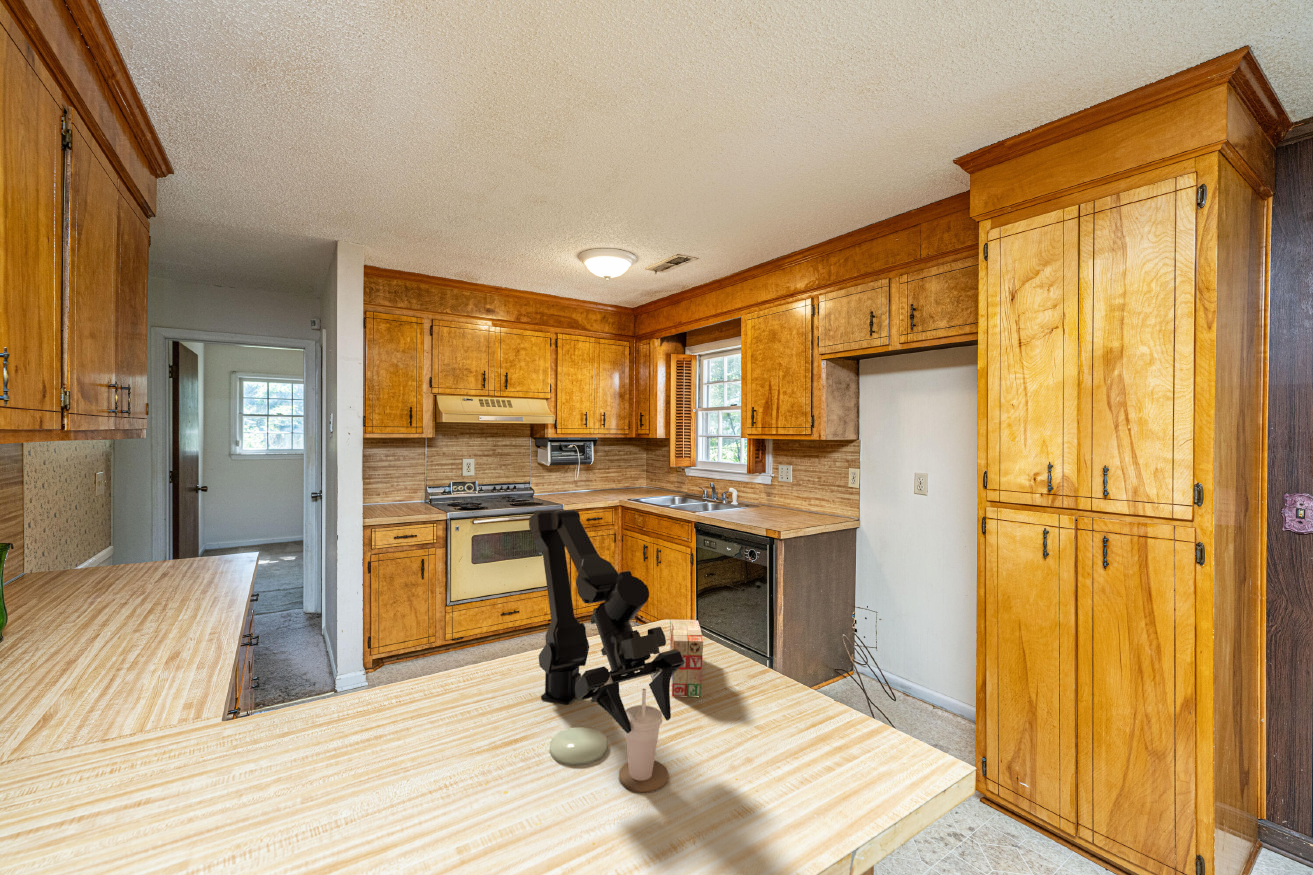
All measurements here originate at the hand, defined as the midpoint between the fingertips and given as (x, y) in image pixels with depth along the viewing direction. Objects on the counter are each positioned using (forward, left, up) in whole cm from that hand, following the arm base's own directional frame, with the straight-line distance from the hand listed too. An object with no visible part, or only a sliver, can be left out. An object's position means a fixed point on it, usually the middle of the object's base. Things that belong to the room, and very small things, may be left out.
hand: (649, 725), depth 92 cm
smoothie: (-2, +1, -9) cm, 9 cm away
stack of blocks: (-6, +40, -9) cm, 41 cm away
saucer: (-15, +4, -9) cm, 18 cm away
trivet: (-1, +1, -9) cm, 9 cm away
